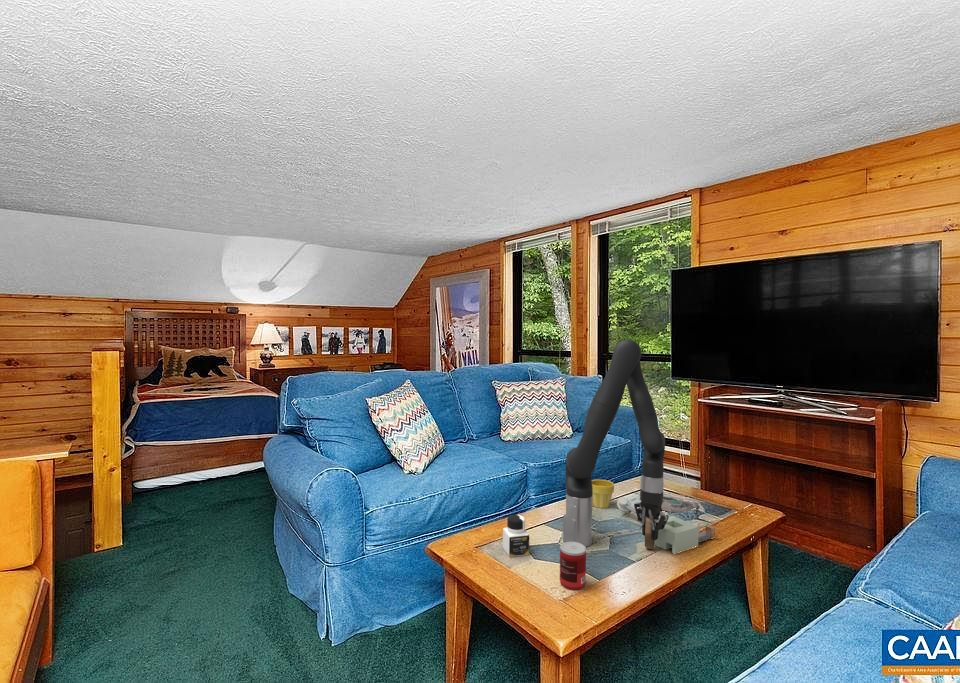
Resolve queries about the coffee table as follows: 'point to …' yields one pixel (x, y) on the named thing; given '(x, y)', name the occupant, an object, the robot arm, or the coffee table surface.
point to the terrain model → (677, 505)
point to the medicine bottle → (515, 537)
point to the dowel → (648, 534)
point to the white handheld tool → (626, 505)
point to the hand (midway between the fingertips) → (649, 537)
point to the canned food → (572, 565)
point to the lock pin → (707, 533)
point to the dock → (677, 535)
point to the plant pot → (602, 493)
